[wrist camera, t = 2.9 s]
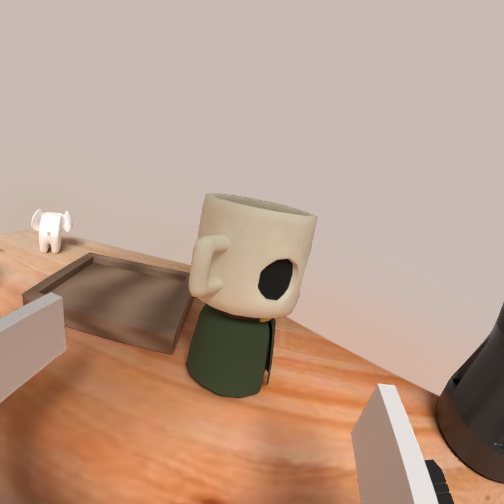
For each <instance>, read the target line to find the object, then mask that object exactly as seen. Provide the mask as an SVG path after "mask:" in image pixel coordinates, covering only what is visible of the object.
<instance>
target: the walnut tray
mask: <svg viewBox="0 0 504 504" xmlns="http://www.w3.org/2000/svg"><path fill="white" fill-rule="evenodd" d="M189 277H190V273H187V272H182V271H177V270H172V269H167V268H162V267H157V266H152V265H147V264H142V263H137V262H132V261H127V260H123V259H118V258H113V257H108V256H104V255H99V254H95V253H88V254H86V255H85V256H83V257H81V258H79V259H78V260H76V261H74V262H73V263H71V264H69V265H68V266H66V267H64V268H63V269H61V270H59V271H58V272H56V273H54V274H53V275H51V276H50V277H48V278H46V279H45V280H43V281H42V282H40V283H38V284H37V285H35V286H34V287H32V288H31V289H29V290H28V291H26V292H24V293H23V294H22V296H23V305H26V304H28V303H30V302H32V301H34V300H36V299H38V298H40V297H42V296H44V295H46V294H48V293H50V292H52V293H54V294H57V295H59V296H61V297H63V311H64V325H65V326H67V327H70V328H73V329H76V330H79V331H83V332H86V333H89V334H93V335H96V336H99V337H103V338H107V339H110V340H114V341H118V342H121V343H125V344H129V345H133V346H137V347H141V348H145V349H149V350H154V351H158V352H163V353H167V354H173V352H174V349H175V346H176V343H177V340H178V338H179V335H180V332H181V329H182V326H183V324H184V321H185V318H186V315H187V313H188V310H189V307H190V305H191V302H192V299H193V297H192V295H191V293H190V292H189V285H188V284H189Z"/></svg>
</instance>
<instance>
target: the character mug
mask: <svg viewBox="0 0 504 504" xmlns="http://www.w3.org/2000/svg"><path fill="white" fill-rule="evenodd" d="M316 222H317V216H315V215H313V214H310V213H308V212H305V211H302V210H298V209H295V208H291V207H288V206H285V205H281V204H277V203H272V202H268V201H263V200H258V199H253V198H247V197H241V196H235V195H226V194H207V195H206V196H205V199H204V203H203V208H202V214H201V220H200V226H199V232H198V238H197V241H196V243H195V246H194V249H193V256H192V263H191V270H190V277H189V284H188V285H189V292H190V293H191V295H192V297H197V298H198V299H200V300H201V301H203V302H205V303H206V304H205V306H204V307H203V309H202V311H201V312H200V315H199V319H198V322H197V325H196V328H195V332H194V335H193V338H192V342H191V345H190V349H189V354H188V358H187V362H186V364H187V367H188V370H189V373H190V374H191V375H192V376H193V377H194V378H195V379H196V380H197V381H198V382H199V383H200V384H201V385H203V386H204V387H206V388H208V389H210V390H212V391H213V392H215V393H217V394H219V395H221V396H230V397H245V396H249V395H253V394H257V393H258V392H259V391H260V388H261V384H262V379H263V374H264V372H265V369H266V370H267V372H268V377H267V382H266V385H267V384H268V382H269V376H270V370H271V364H272V355H273V345H274V334H275V323H276V321H275V318H278V317H285V316H287V315H289V314H290V313H291V312H292V311H293V309H294V307H295V305H296V303H297V300H298V298H299V295H300V293H299V292H300V286H301V282H302V278H303V273H304V270H305V267H306V264H307V261H308V257H309V254H310V251H311V246H312V240H313V236H314V231H315V227H316Z"/></svg>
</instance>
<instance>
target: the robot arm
mask: <svg viewBox="0 0 504 504" xmlns="http://www.w3.org/2000/svg"><path fill="white" fill-rule="evenodd" d="M66 350H67V345H66V336H65V325H64V311H63V297H61V296H59V295H57V294H54V293H52V292H50V293H48V294H46V295H44V296H42V297H40V298H38V299H36V300H34V301H32V302H30V303H28V304H26V305H24V306H22V307H21V308H19V309H17V310H15V311H13V312H11V313H9V314H7V315H5V316H3V317H1V318H0V403H1V402H2V401H3V400H5V399H6V398H7V397H8V396H9V395H11V394H12V393H13V392H14V391H16V390H17V389H18V388H19V387H21V386H22V385H23V384H24V383H25V382H27V381H28V380H29V379H30V378H32V377H33V376H34V375H35V374H37V373H38V372H39V371H40V370H42V369H43V368H44V367H46V366H47V365H48V364H49V363H51V362H52V361H53V360H54V359H56V358H57V357H58V356H60V355H61V354H62V353H63V352H65V351H66ZM436 414H437V420H438V424H439V427H440V429H441V431H442V434H443V435H444V437H445V439H446V441H447V442H448V444H449V445H450V447H451V448H452V449H453V450H454V452H455V453H456V454H457V455H458V456H459V457H460V458H461V459H462V460H463V461H464V462H465V463H466V464H467V465H469V466H470V467H471V468H472V469H474V470H475V471H477V472H478V473H480V474H482V475H483V476H485V477H487V478H490V479H492V480H495V481H497V482H501V483H504V303H503V306H502V309H501V311H500V314H499V316H498V319H497V321H496V323H495V326H494V328H493V330H492V331H491V333H490V334H489V335H488V337H487V338H486V339H485V340H484V341H483V343H482V344H481V345H480V346H479V347H478V349H477V350H476V351H475V352H474V353H473V354H472V355H471V356H470V358H469V359H468V360H467V361H466V362H465V363H464V364H463V365H462V366H461V367H460V368H459V369H458V370H457V372H455V373H454V375H453V376H452V377H451V378H450V380H449V381H448V383H447V385H446V387H445V388H444V390H443V392H442V394H441V395H440V397H439V399H438V402H437V407H436ZM351 436H352V442H353V448H354V455H355V462H356V468H357V476H358V483H359V491H360V499H361V504H454V502H453V499H452V496H451V493H449V488H448V485H447V484H446V480H445V477H444V474H443V472H442V470H441V468H440V467H439V466H438V465H437V464H436V463H435V461H434V460H424V458H423V456H422V453H421V450H420V447H419V445H418V442H417V439H416V437H415V434H414V432H413V429H412V426H411V424H410V421H409V419H408V416H407V414H406V411H405V409H404V406H403V404H402V402H401V399H400V397H399V394H398V392H397V390H396V387H395V385H386V384H377V386H376V388H375V390H374V392H373V394H372V395H371V397H370V399H369V401H368V403H367V405H366V407H365V409H364V410H363V412H362V414H361V416H360V418H359V419H358V421H357V423H356V425H355V426H354V428H353V430H352V432H351Z"/></svg>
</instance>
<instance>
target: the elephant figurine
mask: <svg viewBox="0 0 504 504" xmlns="http://www.w3.org/2000/svg"><path fill="white" fill-rule="evenodd" d="M31 226H32V228H33V229H34V230H39V245H40V251H41V252H42V253H47V251H48V249H49V248H50V245H51V251H52V253H53V254H57V253H58V252H59V249H60V247H61V234H62V230H64V231H65V232H69V231H71V229H72V220H71V216H70V214H69V212H68V211H66V212H65V215H63V214H61V213H50V212H47V213H44V214H43V213H42V212H41V210H40V209H38V210H37V211H36V212H35V214H34V216H33V218H32V222H31Z"/></svg>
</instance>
